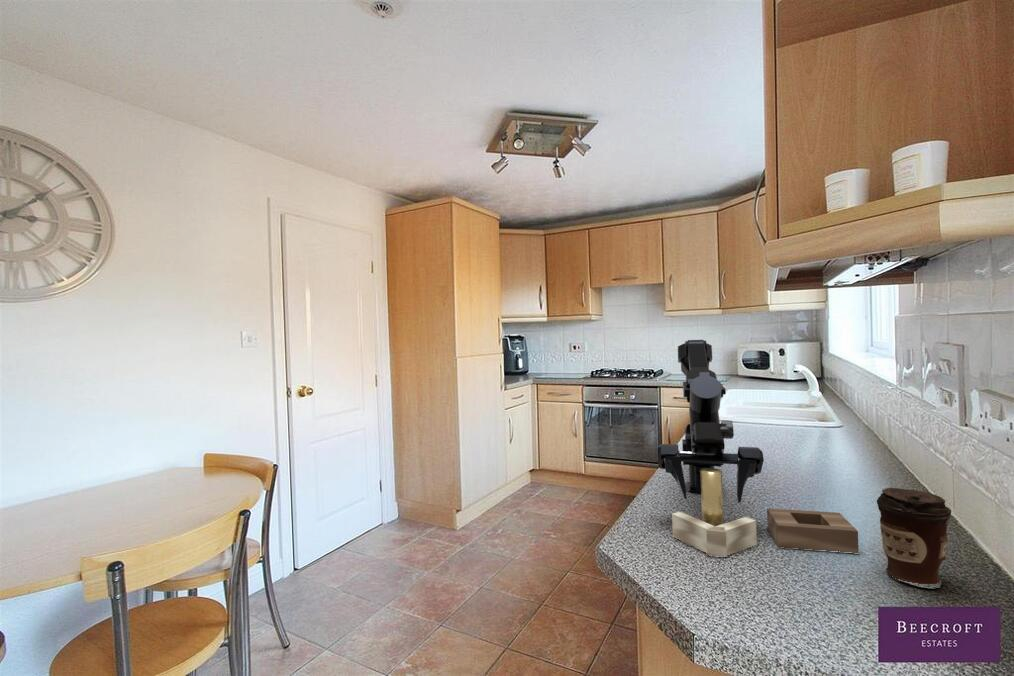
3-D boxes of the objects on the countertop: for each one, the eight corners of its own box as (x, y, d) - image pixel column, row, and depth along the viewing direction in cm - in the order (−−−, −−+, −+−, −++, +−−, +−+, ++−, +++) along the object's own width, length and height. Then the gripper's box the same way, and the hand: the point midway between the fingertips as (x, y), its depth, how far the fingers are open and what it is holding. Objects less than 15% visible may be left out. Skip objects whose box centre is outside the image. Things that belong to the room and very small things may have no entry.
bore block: (767, 528, 90) (766, 508, 90) (840, 534, 87) (839, 512, 87) (778, 547, 83) (778, 525, 83) (858, 554, 79) (858, 531, 79)
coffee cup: (923, 599, 66) (920, 508, 66) (864, 571, 74) (861, 489, 74) (966, 588, 68) (964, 499, 68) (904, 561, 76) (903, 482, 76)
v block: (672, 534, 90) (671, 510, 90) (755, 542, 85) (754, 517, 85) (673, 552, 83) (672, 527, 83) (763, 562, 78) (762, 535, 78)
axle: (709, 535, 89) (706, 466, 89) (728, 541, 86) (725, 470, 86) (699, 541, 87) (696, 471, 86) (718, 547, 84) (715, 475, 84)
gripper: (656, 404, 94) (657, 476, 84) (760, 405, 88) (774, 483, 78) (658, 434, 102) (659, 503, 92) (754, 436, 96) (766, 511, 86)
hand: (711, 499), depth 87 cm, fingers open, 9 cm apart
